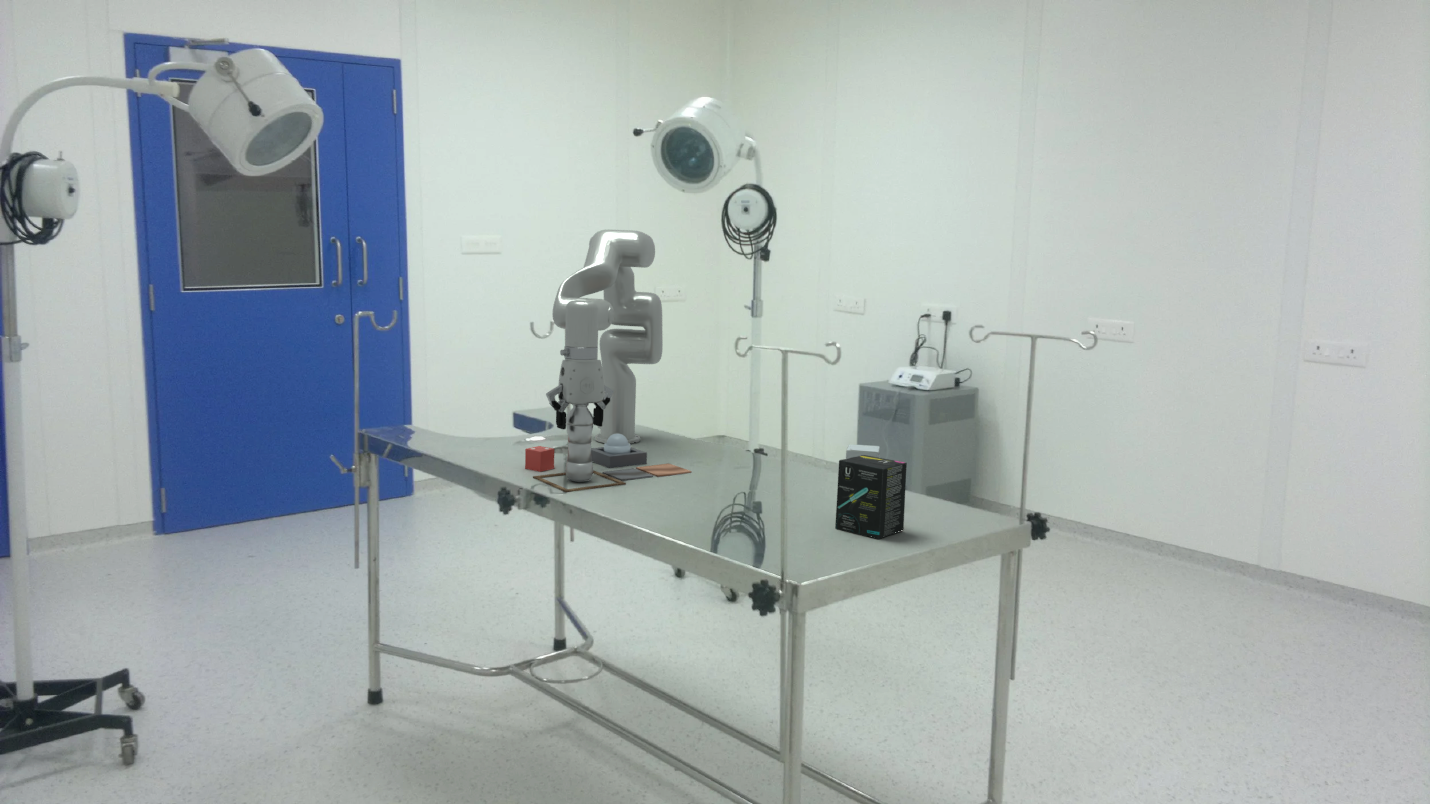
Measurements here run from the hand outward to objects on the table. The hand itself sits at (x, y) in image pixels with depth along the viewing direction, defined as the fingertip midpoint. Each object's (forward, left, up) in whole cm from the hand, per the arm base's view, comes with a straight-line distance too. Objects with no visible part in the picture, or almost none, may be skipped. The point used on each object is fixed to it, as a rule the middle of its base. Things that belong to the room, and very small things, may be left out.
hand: (579, 427), depth 249 cm
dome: (-14, +19, -12) cm, 27 cm away
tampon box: (+65, +31, -13) cm, 73 cm away
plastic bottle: (0, 0, -13) cm, 13 cm away
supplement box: (+47, +46, -13) cm, 67 cm away
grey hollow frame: (-14, +19, -13) cm, 27 cm away
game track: (0, +10, -13) cm, 17 cm away
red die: (-16, -2, -13) cm, 21 cm away
